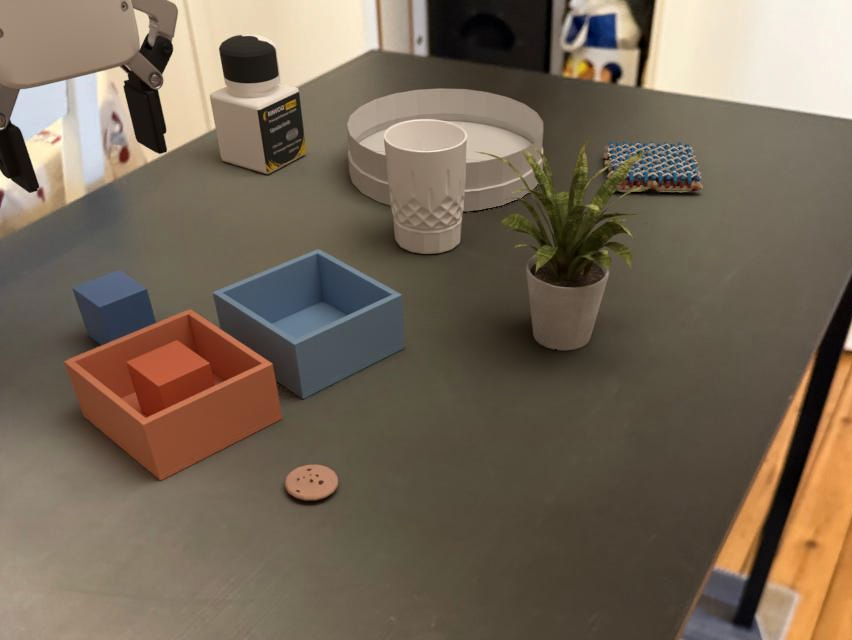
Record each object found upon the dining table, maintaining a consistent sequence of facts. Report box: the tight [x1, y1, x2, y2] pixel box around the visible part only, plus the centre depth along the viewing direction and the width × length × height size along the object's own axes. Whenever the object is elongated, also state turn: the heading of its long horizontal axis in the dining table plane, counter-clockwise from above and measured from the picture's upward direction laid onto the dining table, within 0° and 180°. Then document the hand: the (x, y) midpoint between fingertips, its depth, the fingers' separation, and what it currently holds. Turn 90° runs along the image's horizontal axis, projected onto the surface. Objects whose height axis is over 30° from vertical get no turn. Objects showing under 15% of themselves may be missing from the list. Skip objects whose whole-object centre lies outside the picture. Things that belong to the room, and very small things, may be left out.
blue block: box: [72, 270, 157, 346], centre depth 79 cm, size 4×4×4 cm
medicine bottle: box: [209, 33, 307, 175], centre depth 102 cm, size 7×7×12 cm
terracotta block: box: [126, 340, 215, 417], centre depth 71 cm, size 4×4×4 cm
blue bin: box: [212, 248, 406, 400], centre depth 78 cm, size 11×11×5 cm
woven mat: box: [602, 140, 704, 192], centre depth 104 cm, size 10×11×2 cm
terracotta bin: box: [63, 308, 283, 481], centre depth 71 cm, size 11×11×5 cm
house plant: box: [474, 135, 650, 351], centre depth 76 cm, size 14×14×16 cm
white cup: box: [383, 119, 467, 255], centre depth 90 cm, size 8×8×10 cm
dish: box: [346, 88, 544, 211], centre depth 103 cm, size 22×22×5 cm
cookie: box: [284, 464, 339, 501], centre depth 67 cm, size 4×4×1 cm
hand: (90, 165), depth 64 cm, fingers open, 9 cm apart
